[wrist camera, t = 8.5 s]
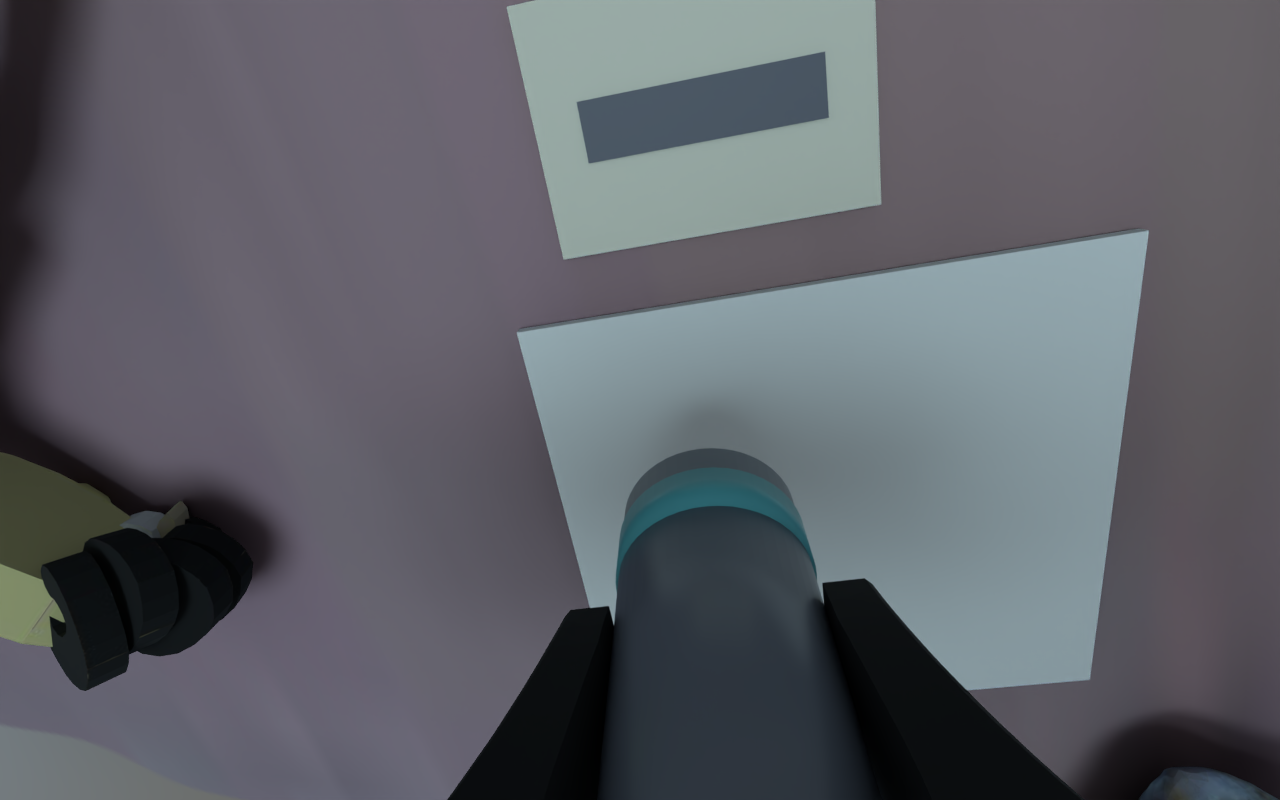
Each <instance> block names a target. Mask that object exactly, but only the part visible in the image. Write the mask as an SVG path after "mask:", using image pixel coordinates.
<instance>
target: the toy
mask: <svg viewBox="0 0 1280 800" xmlns="http://www.w3.org/2000/svg"><path fill="white" fill-rule="evenodd" d="M252 568H253V562H252V560H251V558H250V557H249V555H248V553H247V551H246V550H245V549H244V548H243V547H242V546H241V545H240V544H239V543H238V542H237V541H236V540H235V539H233V538H232V537H230V536H228V535H226V534H225V533H223V532H222V531H221V529H220V528H218V527H216V526H214V525H212V524H211V523H209V522H207V521H205V520H202V519H198V518H194V517H191V516H189V514H188V509H187V507H186V506H185V504H184V503H183V502H182V501H181V500H180V501H179V502H178V503H177V504H176V505H175V506H174V507H173V508H172V509H171V510H169V511H168V512H167V513H166V514H162V513H160V512H153V511H143V512H140V513H136V514H133V515H131V516H129V515H127V514H126V513H124V512H123V511H122V510H120V509H119V508H117V507H116V506H115V505H113V504H112V503H111V500H110V499H109V497H108V496H106V495H104V494H103V493H101V492H100V491H98V490H97V489H95V488H93V487H92V486H90V485H89V484H87V483H77V482H75V481H73V480H71V479H69V478H67V477H65V476H63V475H61V474H60V473H57V472H55V471H52V470H50V469H47V468H45V467H42V466H39V465H37V464H34V463H32V462H29V461H27V460H24V459H22V458H19V457H16V456H14V455H10V454H6V453H2V452H0V637H3V638H6V639H9V640H12V641H15V642H18V643H21V644H29V645H38V646H48V647H51V649H52V651H53V653H54V655H55V657H56V659H57V661H58V662H59V664H60V666H61V667H62V669H63V671H64V672H65V674H66V675H67V677H68V678H69V679H70V680H71V682H72V683H73V684H74V685H75V686H76V687H78V688H79V689H80V690H84V691H87V690H89V689H91V688H93V687H95V686H97V685H99V684H101V683H103V682H106V681H108V680H110V679H112V678H114V677H116V676H118V675H120V674H122V673H125V672H126V670H127V667H128V664H129V654H131V653H133V652H136V651H139V652H140V653H142V654H148V655H154V656H165V655H171V654H177V653H179V652H181V651H183V650H185V649H187V648H189V647H191V646H193V645H194V644H196V643H197V642H198V641H199V640H200V639H201V638H202V637H204V636H205V635H206V634H207V633H208V632H209V631H210V630H211V629H212V628H213V627H214V626H215V625H216V624H217V623H218V621H220V620H222V619H223V618H224V617H225V616H226V615H227V614H228V613H229V612H230V611H231V610H233V609H234V608H235V606H236V605H237V603H238V602H239V601H240V599H241V598H242V596H243V595H244V594H245V592H246V590H247V588H248V586H249V583H250V581H251V579H252Z"/></svg>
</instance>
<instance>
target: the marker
mask: <svg viewBox="0 0 1280 800" xmlns="http://www.w3.org/2000/svg"><path fill="white" fill-rule="evenodd" d="M616 591H617V599H616V609H615V619H614V630H613V640H612V650H611V660H610V671H609V681H608V691H607V702H606V712H605V722H604V732H603V743H602V753H601V763H600V774H599V784H598V794H597V800H882V798H881V794H880V791H879V787H878V784H877V781H876V777H875V774H874V771H873V767H872V764H871V761H870V757H869V754H868V751H867V747H866V744H865V740H864V737H863V734H862V730H861V727H860V724H859V720H858V717H857V714H856V710H855V707H854V704H853V700H852V697H851V693H850V690H849V687H848V683H847V680H846V677H845V674H844V670H843V667H842V664H841V660H840V657H839V654H838V650H837V647H836V644H835V640H834V637H833V633H832V630H831V627H830V623H829V620H828V617H827V613H826V610H825V607H824V603H823V599H822V596H821V593H820V589H819V586H818V583H817V572H816V565H815V562H814V558H813V555H812V552H811V548H810V545H809V542H808V539H807V535H806V532H805V529H804V526H803V522H802V519H801V516H800V514H799V512H798V510H797V508H796V507H795V505H794V502H793V499H792V496H791V493H790V491H789V489H788V487H787V485H786V484H785V483H784V481H783V480H782V478H781V477H780V476H779V475H778V474H777V473H776V472H775V471H774V470H773V469H772V468H770V467H769V466H768V465H766V464H765V463H763V462H762V461H760V460H758V459H756V458H754V457H752V456H750V455H747V454H744V453H741V452H738V451H734V450H728V449H719V448H705V449H695V450H690V451H685V452H682V453H679V454H676V455H673V456H671V457H669V458H666V459H664V460H663V461H661V462H659V463H657V464H656V465H655V466H653V467H652V468H651V469H649V470H648V471H647V472H646V473H645V474H644V475H643V476H642V477H641V478H640V479H639V481H638V482H637V483H636V484H635V486H634V488H633V489H632V491H631V493H630V495H629V498H628V501H627V504H626V509H625V516H624V521H623V524H622V527H621V532H620V539H619V548H618V558H617V568H616Z"/></svg>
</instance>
